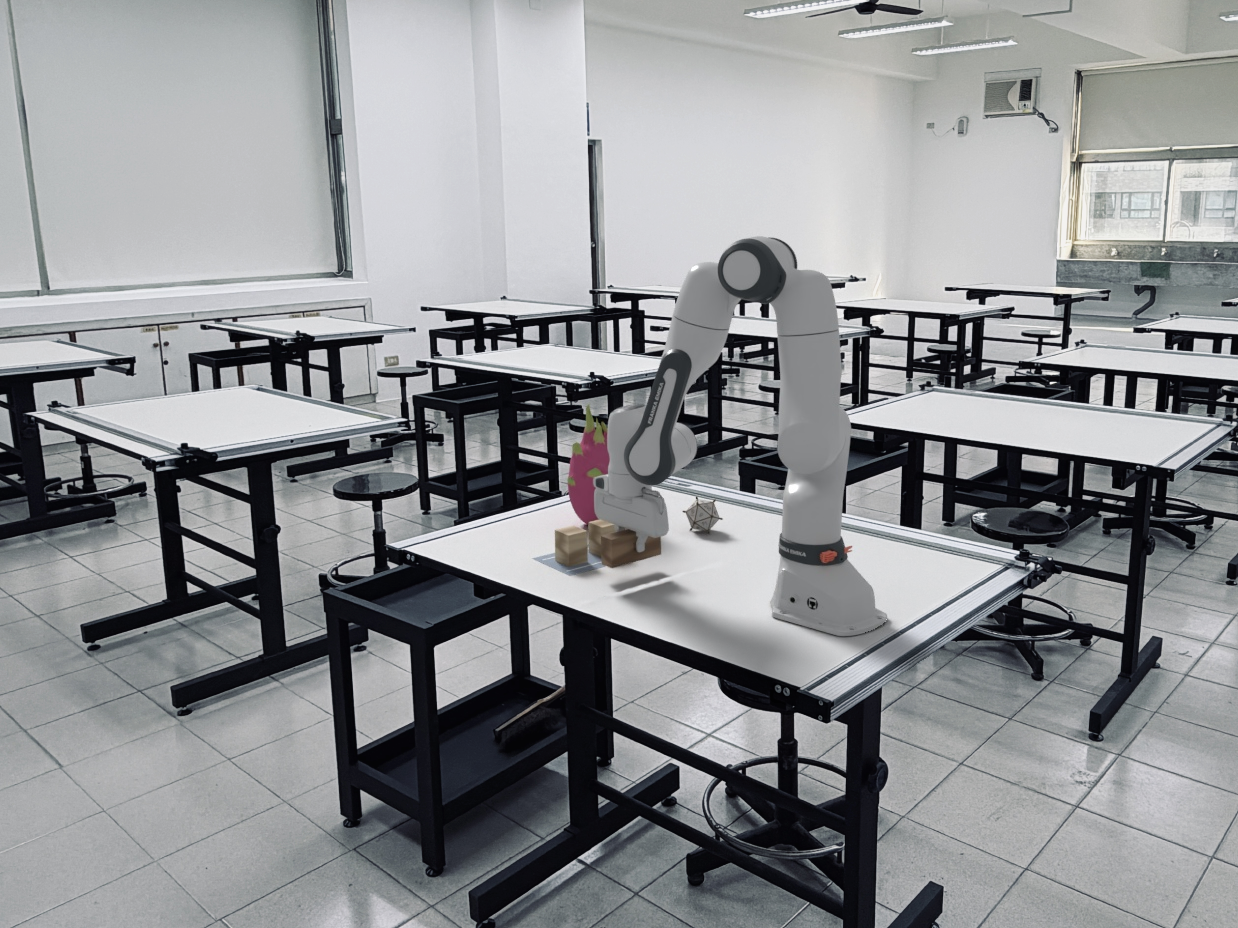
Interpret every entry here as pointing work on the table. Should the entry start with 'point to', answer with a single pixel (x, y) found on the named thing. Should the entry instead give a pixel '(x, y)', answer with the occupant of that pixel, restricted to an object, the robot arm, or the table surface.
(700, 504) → the game die
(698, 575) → the table surface
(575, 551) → the pillar left
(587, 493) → the pink dragon fruit
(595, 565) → the blueprint board
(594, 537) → the pillar right
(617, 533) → the walnut lintel
